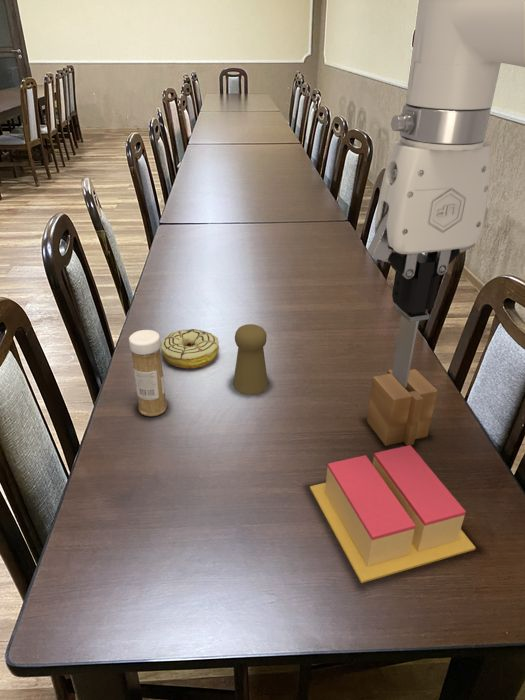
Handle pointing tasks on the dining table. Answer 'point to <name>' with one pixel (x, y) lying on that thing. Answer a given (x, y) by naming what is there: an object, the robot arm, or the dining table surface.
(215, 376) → the dining table surface
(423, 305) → the knife
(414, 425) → the knife block
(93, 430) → the dining table surface
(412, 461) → the cake
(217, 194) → the dining table surface
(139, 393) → the sprinkles bottle
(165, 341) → the decorated donut
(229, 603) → the dining table surface
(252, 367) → the olive brown pawn
